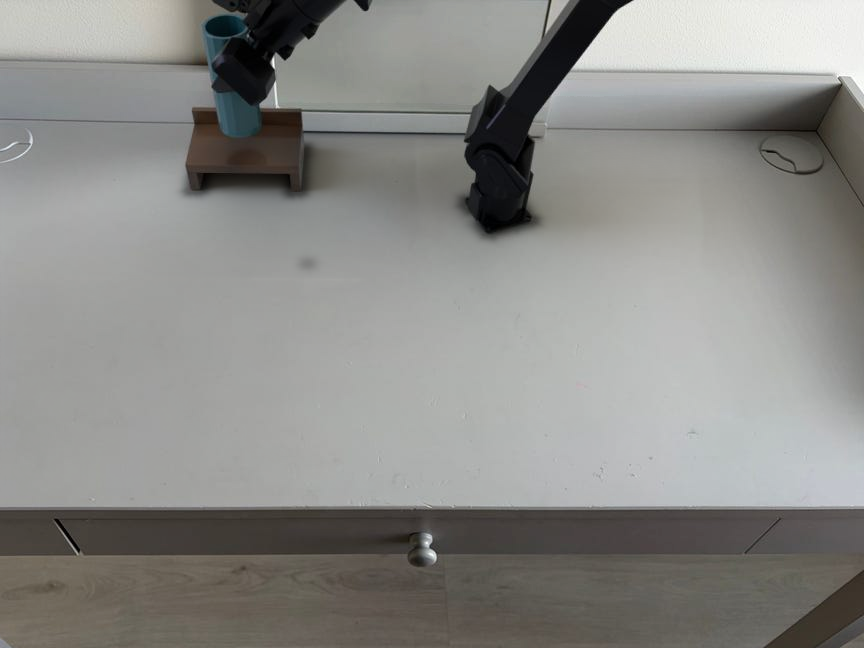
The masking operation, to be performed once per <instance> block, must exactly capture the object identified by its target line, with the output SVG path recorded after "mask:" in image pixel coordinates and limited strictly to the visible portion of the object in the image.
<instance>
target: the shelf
mask: <svg viewBox="0 0 864 648" xmlns="http://www.w3.org/2000/svg"><path fill="white" fill-rule="evenodd" d="M260 112H261V120H262V126H261V129H260V130H259V131H258V132H257V133H255V134H254V135H252V136H249V137H245V138H233V137H229V136H227V135H225V134H224V133H223V132H222V131H221V130H220V126H219V122H218V116H217V111H216V106H215V107H211V106H210V107H209V106H208V107H207V106H192V108H191V115H192V120H193V124H194V125H193V128H192V131H191V132H192V133H191V137H190V141H189V146H188V151H187V155H186V160H185V163H184V166H185V169H186V171H185V172H186V175H187V179H188V180H187V181H188V184H189V188H190V190H191V191H200V190H201V187H202V183H203V177H204V173H205V174H277V175H278V174H285V175H286V174H287V175H289V178H290V179H289V180H290V190H291V192H301V191H302V183H303V182H302V180H303V169H304V157H305V134H304V119H303V108H294V107H293V108H290V107H289V108H288V107H287V108H284V107H283V108H281V107H280V108H279V107H260Z"/></svg>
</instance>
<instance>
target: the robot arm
mask: <svg viewBox="0 0 864 648" xmlns="http://www.w3.org/2000/svg"><path fill="white" fill-rule="evenodd" d="M211 1H212V2H213V4H215V5H217V6H218V7H220V8H221V9H224V10H226V11H227V12H228V13H236V12H239V13H241V14H246V15H245V16H243V17H244V18H243V20H242V22H243V23H244V24H245V25H246V26H247V27H248V28H249V29H250V31H249V33H248V34H247V38H248V39H249V40H250V41H251V43H252V46H251V45H250V44H249V43H248V42H247V41H246V40H245V39H244V38H238V37H231V38H230V39H229V40H228V39H227V40H226V41H225V43H224V44H223V46H222V47H221V49H220V50H219V52H218V53H217V55H216V57H215V58H214V60H213V61H212V63H211V66H212V69H213V71H214V72H215V73H216V74H217V75H218V76H217V77H216V79H215V81H214V82H213V84H212V83H211V85H210V86H211V89H212V91H213V90H214V91H215V92H217V93H226V92H236V93H237V94H238V95H239V96H241V97H242V98H243V99H244V100H245V101H246V102H247V103H248V104H249V105H250V106H255V107H256V106H258V105H259V104H261V103H262V102H264V101H265V100H266V99H267V98H268V96H269V94H270V92H271V91H272V88H273V87H274V85H275V84H276V81H277V74H276V69H275V68H274V66H273V65H272V61H273V60H274V57H275V55H276V54H277V55H278V56H279V57H280V58H281V59H282V60H283V61H284V62H285V61H287V60H288V59H289V58H290V57H291V56H292V55H293V52H294V50H295V49H296V47H297V46H298V45H299V44H300V43H301V42H302V41H303V40H305V38H306V39H307V40H308V41H309V40H311V38H313V37H314V36H315V35H316V33H317V31H318V30H319V28H320V26H321V24H323V22H325V20H327V19H328V18H329V17H330V16H331V15H332V14H333V13H334V12H336V11H337V10H338V9H339V8H340V7H341V6H343V5H344V4H345V3H346V2H348V0H211ZM633 1H635V0H568V1H567V3H566V4H565V6H564V7H563V8H562V9H561V11H560V12H559V14H558V15H557V18H555V20H554V21H553V23H552V24H551V26H550V27H549V28H548V30H547V31H546V33H545V34H544V35H543V37H542V38H541V40H540V41H539V42H538V44H537V46H536V47H535V49H534V50H533V51H532V53H531V54H530V56H529V57H528V58H527V60H526V61H525V63H524V64H523V65H522V67H521V68H520V70H519V71H518V73H517V74H516V75H515V76H514V79H513V80H512V81H511V82H509V84H508V85H507V86H505V87H503V88H501V89H500V90H498V89H496V88H495V87H494V86H492V84H488V85H487V88H486V89H485V91H484V95H483V96H482V98H481V99H480V101H479V102H478V103H476V104H474V105H473V106H472V107H471V112H470V115H469V119H468V123H467V127H466V131H465V134H464V138H463V143H465V144H466V145H465V149H464V152H463V153H464V154H463V157H464V159H465V162H466V164H467V166H468V167H469V168H470V169H471V170H472V171H473V172H474V174H475V175H474V181H473V182H471V185H470V188H469V196H467V197H465V198H464V205H466V206H467V210H468V211H469V212H470V214H471V216H472V217H473V219H474V220H475V221H476V222H477V223H478V224H479V226H480V227H481V228H482V230H483V231H484V232H485V233H486V234H492V233H495V232H499V231H503V230H506V229H509V228H513V227H517V226H521V225H523V224H527V223H530V222H532V220H533V216H532V214H531V213H530V212H529V210H528V209H527V207H528V202H529V197H530V194H531V188H532V184H533V180H534V173H533V171H532V164H533V158H534V153H535V147H536V140H535V139H534V138H533V136H531V135H530V133H529V132H530V129H531V127H532V125H533V122H534V120H535V117H536V116H537V115H538V113H539V112H540V111H541V110H542V108H543V107H544V106H545V104H546V103H547V102H548V101H549V99H550V98H551V97H552V95H553V94H554V92H555V91H556V90H557V89H558V87H559V86H560V85H561V83H562V82H563V81H564V80H565V78H566V77H567V76H568V75H569V73H570V72H571V70H572V69H573V68H574V67H575V65H576V64H577V62H578V61H579V60H580V59H581V57H582V56H583V55H584V54H585V52H586V51H587V50H588V48H589V47H590V46H591V45H592V43H593V42H594V40H595V39H596V38H597V37H598V35H599V34H600V33H601V32H602V30H603V29H604V28H605V26H606V25H607V23H609V21H610V20H611V18H612V17H613V16H614V15H615V14H616V13H617V12H618V11H619V10H620V9H622V8H623V7H625V6H627V5H628V4H630V3H632V2H633ZM353 2H354V3H356V5H357V6H358V7H359V8H360V9H361V10H362V11H363V12H368V11H369V9H370V7H371V5H372V3H373V0H353Z"/></svg>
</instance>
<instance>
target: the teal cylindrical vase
mask: <svg viewBox="0 0 864 648" xmlns="http://www.w3.org/2000/svg"><path fill="white" fill-rule="evenodd" d="M244 17H245V16H243V15H239V14H236V13H230V12H228V13H220V14H216V15H212V16H210V17H209V18H207V19H205V20H204V21H203V22H202V24H201V34H202V39H203V44H204V49H205V50H204V51H205V54H206V60H207V67H208V71H209V77H210V83H211V85H212V84H213V82H214V81H215V79H216V77H217V76H218V75H217V74H216V73H215V72H214V71H213V69H212V66H211V63H212V61H213V60H214V58H215V57H216V55H217V53H218V52H219V50H220V49H221V47H222V46H223V44H224V43H225V41H226V40H227V39H228V40H229V39H230V38H231V37H238V38H244V39H245V40H246V41H247V42H248V43H249V44H250V45H251V46H252V43H251V41H250V40H249V39H248V38H247V34H248V33H249V31H250V29H249V28H248V27H247V26H246V25H245V24H244V23H243V22H242V20H243V18H244ZM212 93H213V99H214V105H215V107H216V111H217V116H218V122H219V126H220V130H221V131H222V132H223V133H224V134H225V135H227V136H229V137H233V138H245V137H249V136H252V135H254V134H255V133H257V132H258V131H259V130H260V129H261V126H262V120H261V112H260V108H261V105H260V104H261V103H260V104H259V105H258V106H256V107H255V106H250V105H249V104H248V103H247V102H246V101H245V100H244V99H243V98H242V97H241V96H239V95H238V94H237V93H236V92H226V93H217V92H215V91H214V90H213V89H212Z"/></svg>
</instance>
